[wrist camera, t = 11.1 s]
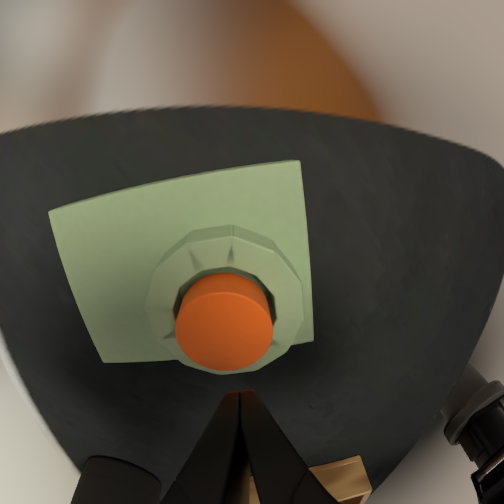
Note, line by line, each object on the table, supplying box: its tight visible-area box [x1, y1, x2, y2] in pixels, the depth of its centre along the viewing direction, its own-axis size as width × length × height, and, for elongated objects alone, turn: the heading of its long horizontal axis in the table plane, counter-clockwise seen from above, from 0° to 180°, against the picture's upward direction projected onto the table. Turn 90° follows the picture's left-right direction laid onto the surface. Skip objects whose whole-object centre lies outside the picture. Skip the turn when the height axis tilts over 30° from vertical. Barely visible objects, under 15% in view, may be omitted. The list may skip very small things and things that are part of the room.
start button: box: [175, 272, 273, 371], centre depth 11 cm, size 4×4×2 cm
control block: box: [48, 160, 314, 375], centre depth 13 cm, size 12×9×4 cm
